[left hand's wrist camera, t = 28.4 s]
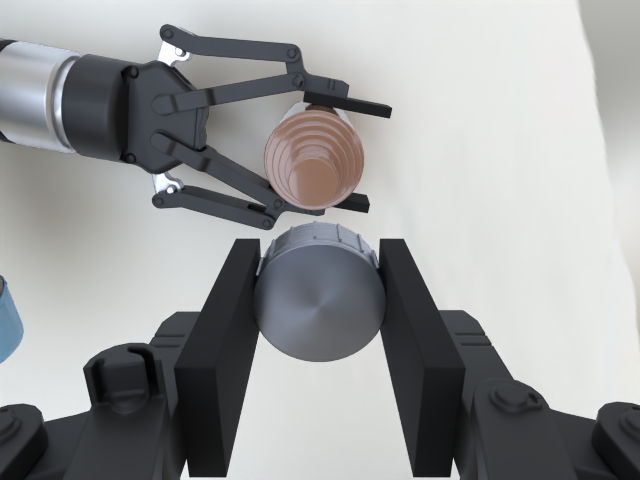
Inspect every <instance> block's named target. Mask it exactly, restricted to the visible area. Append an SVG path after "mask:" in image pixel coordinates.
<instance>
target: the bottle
mask: <svg viewBox="0 0 640 480" xmlns="http://www.w3.org/2000/svg"><path fill="white" fill-rule="evenodd" d="M264 166H265V171H266V175H267V178H268V180H269V182H270V184H271V186H272V187H273V189H274V190H275V191H276V192H277V194H278V195H279V196H280V197H282V198H283V199H284V200H285V201H287V202H288V203H290V204H292V205H294V206H297V207H299V208H303V209H308V210H320V209H326V208H329V207H332V206H334V205H337V204H338V203H340V202H342V201H343V200H344V199H346V198H347V197H348V196H349V195H350V194H351V193H352V192H353V191H354V189H355V188H356V186H357V185H358V183H359V181H360V178H361V176H362V172H363V167H364V153H363V148H362V144H361V142H360V140H359V137H358V136H357V134H356V132H355V130H354V128H353V126H352V124H351V122H350V121H349V119H348V117H347V115H346V114H345V112H344V111H343V110H342V109H337V108H332V107H326V106H321V105H316V104H310V103H305V102H303V100H302V101H299V102H298V103H296V104H294V105H293V106H292V107H291V108H290V109H289V110H288V111H287V112H286V114H285V115H284V117H283V118H282V120H281V121H280V122H279V124H278V125H277V127H276V128H275V129H274V131H273V132H272V134H271V135H270V137H269V139H268V142H267V145H266V148H265V153H264Z"/></svg>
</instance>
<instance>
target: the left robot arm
mask: <svg viewBox="0 0 640 480" xmlns="http://www.w3.org/2000/svg"><path fill="white" fill-rule="evenodd" d="M260 259H261V253H260V239H236V240H235V242H234V244H233V246H232V248H231V250H230V253H229V255H228V257H227V259H226V261H225V263H224V265H223V267H222V269H221V271H220V273H219V275H218V277H217V279H216V281H215V283H214V286H213V288H212V290H211V292H210V294H209V296H208V298H207V300H206V302H205V304H204V306H203V308H202V310H201V312H176V313H174V314H173V315H172V316H170V317H169V318H167V319H166V320H165V321H163V322H162V324H161V325H160V327H159V329H158V330H157V332H156V333H155V337H153V338H152V340H151V342H150V343H149V344H145V343H127V344H122V345H117V346H114V347H111V348H109V349H106V350H104V351H102V352H100V353H99V354H97V355H96V356H94V357H93V358H91V359H90V360H89V361H88V363H87V364H86V365H85V366H84V368H83V371H84V375H85V379H86V384H87V388H88V392H89V396H90V401H91V405H92V406H91V409H90V411H87V412H84V413H80V414H77V415H73V416H68V417H64V418H60V419H55V420H51V421H46V422H44V419H43V416H42V412H41V411H40V410H39V409H38V408H37V407H35V406H33V405H28V404H14V405H7V406H4V407H0V480H180V477H181V474H182V471H183V468H184V465H185V462H186V459H187V464H188V471H189V477H226V476H227V472H228V467H229V463H230V459H231V454H232V450H233V445H234V441H235V437H236V432H237V428H238V423H239V419H240V415H241V410H242V406H243V401H244V397H245V393H246V388H247V384H248V379H249V375H250V371H251V366H252V362H253V357H254V353H255V349H256V344H257V340H258V335H259V331H260V330H259V328H258V326H257V324H256V322H255V318H254V305H253V289H254V286H255V282H256V279H257V277H255V275H256V272H257V269H258V266H259V262H260ZM379 267H380V272H381V276H382V279H383V283H384V286H385V290H386V295H387V299H386V314H385V319H384V321H383V324H382V326H381V328H380V332H381V337H382V341H383V345H384V350H385V354H386V359H387V363H388V367H389V372H390V376H391V381H392V385H393V389H394V394H395V398H396V403H397V407H398V411H399V416H400V420H401V425H402V429H403V433H404V438H405V442H406V447H407V451H408V455H409V460H410V464H411V469H412V473H413V477H450V476H451V469H452V462H453V458H454V461H455V464H456V467H457V470H458V472H459V475H460V480H640V405H636V404H633V403H625V402H613V403H608V404H605V405H604V406H603V407H602V408H600V409H599V411H598V415H597V418H596V420H593V419H589V418H584V417H580V416H575V415H571V414H566V413H562V412H559V411H556V410H552V409H550V408H549V405H548V404H547V402H546V401H545V399H544V398H543V396H542V395H541V394H539V393H538V392H537V391H536V390H534V389H533V388H532V387H530V386H528V385H526V384H524V383H522V382H519V381H517V380H514V379H513V377H512V376H511V374H510V372H509V371H508V369H507V368H506V366H505V364H504V363H503V361H502V359H501V358H500V356H499V355H498V353H497V351H496V350H495V348H494V347H493V346H492V345H491V342H490V340H489V339H488V337H487V336H485V332H484V330H483V329H482V327H481V326H480V324H479V322H478V321H477V320H476V319H474V318H473V317H472V316H470V315H469V314H468V313H466V312H465V311H463V310H438V309H437V307H436V305H435V303H434V301H433V299H432V296H431V294H430V292H429V290H428V288H427V286H426V284H425V282H424V280H423V278H422V276H421V274H420V272H419V270H418V268H417V266H416V263H415V261H414V259H413V257H412V255H411V253H410V251H409V249H408V247H407V245H406V243H405V241H404V239H380V248H379Z"/></svg>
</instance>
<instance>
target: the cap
mask: <svg viewBox="0 0 640 480" xmlns="http://www.w3.org/2000/svg"><path fill="white" fill-rule="evenodd" d="M255 277H257V279H256V282H255V286H254V289H253V305H254V318H255V322H256V324H257V326H258V328H259V330H260V331H261V333H262V334H263V336H264V337H265V338H266V339H267V340H268V342H269V343H271V344H272V345H273V346H274V347H275V348H277V349H278V350H280V351H281V352H283V353H285V354H287V355H289V356H291V357H294V358H297V359H300V360H304V361H311V362H328V361H334V360H339V359H342V358H345V357H348V356H350V355H352V354H354V353H356V352H358V351H359V350H361V349H362V348H363V347H365V346H366V345H367V344H368V343H369V342H370V341H371V340H372V339H373V338H374V337H375V336H376V334H377V333H378V331H379V329H380V328H381V326H382V324H383V321H384V319H385V314H386V299H387V295H386V290H385V286H384V283H383V279H382V276H381V272H380V267H379V264H378V260H377V257H376V253H375V251H374V250H373V251H372V250H371V248H370V247H369V245H368V244H367V243H366V242H365V241H364V240H363V239H362V238H361V235H360V234H358V235H357V234H356V233H354V232H352V231H351V230H349V229H346V228H344V227H342V226H340V224H337V225H335V224H329V223H316V221H314V223H309V224H304V225H300V226H297V227H295V228H294V227H291V228H290V230H288V231H286V232H285V233H284V234H282V235H281V236H279V237H278V238H277V239H276V240H274V239H273V240H272V243H271V245H270V247H269V248H268V250H267V251H266V253H265V255H264V257H261V259H260V262H259V266H258V269H257V272H256V275H255Z"/></svg>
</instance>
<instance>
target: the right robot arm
mask: <svg viewBox="0 0 640 480" xmlns="http://www.w3.org/2000/svg"><path fill="white" fill-rule="evenodd" d="M160 37H161V38H162V40H163V42H162V46H161V49H160V52H159V56H158V59H157V61H151V62H149V63H146V64H139V63H133V62H128V61H123V60H118V59H112V58H107V57H102V56H96V55H91V54H87V55H84V56H82V55H81V54H79V53H78V52H75V51H70V50H65V49H60V48H54V47H49V46H44V45H39V44H34V43H28V42H23V41H15V40H6V39H1V38H0V141H4V142H10V143H15V144H21V145H26V146H31V147H37V148H42V149H47V150H53V151H58V152H63V153H69V154H70V153H75V152H77V153H79V154H80V155H82V156H87V157H93V158H98V159H104V160H110V161H115V162H121V163H127V164H133V165H137V166H139V167H141V168H142V169H144V170H145V171H147V172H148V173H150V174H152V177H153V182H154V186H155V191H156V194H155V195H154V196H153V198H152V203H153V205H154V206H155V207H157V208H177V207H183V208H186V209H190V210H194V211H197V212H201V213H205V214H208V215H212V216H216V217H219V218H223V219H227V220H230V221H234V222H238V223H241V224H245V225H249V226H252V227H256V228H260V229H263V230H271V229H272V228H273V226H274V224H275V222H276V221H277V219H278V217H279V215H280V214H281V213H282V212H284V211H292V212H298V213H303V214H309V215H315V216H320V215H324V212H325V209H320V210H308V209H303V208H299V207H297V206H294V205H292V204H290V203H288V202H287V201H285V200H284V199H283V198H282V197H280V196H279V195H278V194H277V192H276V191H275V190H274V189H273V187H272V186H271V184H270V182H269V181H268V180H266V179H264V178H262V177H260V176H259V175H257V174H255V173H253V172H251V171H250V170H248V169H246V168H244V167H242V166H241V165H239V164H237V163H235V162H233V161H232V160H230V159H228V158H226V157H224V156H223V155H221V154H219V153H218V152H217V151H216V150H215V149H213V148H211V147H210V146H208V145H206V137H207V136H206V130H205V124H206V121H207V118H208V114H209V106H213V105H217V104H223V103H229V102H234V101H240V100H246V99H251V98H257V97H263V96H268V95H274V94H280V93H285V92H291V91H297V90H298V91H299V90H300V91H305V93H304V99H303V102H305V103H310V104H316V105H321V106H326V107H332V108H337V109H342V110H347V111H353V112H358V113H363V114H369V115H374V116H379V117H384V118H390V116H391V111H392V108H391V107H389V106H388V105H384V104H379V103H374V102H368V101H363V100H358V99H353V98H347V94H348V89H349V85H348V84H346V83H345V82H343V81H341V80H336V79H331V78H326V77H321V76H315V75H311V74H309V73H307V72H306V70H305V69H304V65H303V60H302V54H301V50H300V48H299V47H297V46H296V45H294V44H286V43H274V42H261V41H249V40H237V39H225V38H212V37H200V36H197V35H195V34H193V33H191V32H189V31H187V30H185V29H182V28H180V27H176V26H173V25H169V24H166V25H163V26H162V27H161V29H160ZM193 54H197V55H205V56H217V57H230V58H242V59H255V60H267V61H279V62H285V63H286V68H287V74H285V75H279V76H273V77H268V78H262V79H257V80H251V81H245V82H240V83H234V84H229V85H223V86H217V87H212V88H206V89H201V90H197V89H196V88H195V87H194V86H193V85H192V84H191V83H190V82H189V81H188V80H187V79H186V78H185V77H184V76H183V75H182V74H181V73H180V72H179V71H178V70H177V69H176V68H175V67H174V65H175V63H176V62H177V61H189V60H190V59H191V58H192V57H193ZM183 163H185V164H187V165H188V166H190V167H192V168H194V169H196V170H198V171H201V172H205V173H207V174H209V175H211V176H213V177H215V178H217V179H218V180H220V181H222V182H224V183H226V184H228V185H230V186H231V187H233V188H235V189H237V190H239V191H241V192H242V193H244V194H246V195H248V196H250V197H252V198H253V199H255V200H257V201H259V202H261V203H263V204H265V205H266V206H264V205H260V204H257V203H253V202H250V201H246V200H242V199H239V198H235V197H232V196H228V195H224V194H221V193H217V192H214V191H210V190H206V189H203V188H199V187H195V186H188V185H183V182H182V181H181V180H180V179H177V178H173V177H171V176H170V175H169V173H168V171H169V170H171V169H173V168H175V167H177V166H179V165H181V164H183ZM369 206H370V203H369V200H368V198H367V195H363V194H358V193H351V194H350V195H349V196H348V197H347V198H346V199H344V200H343V201H342V202H340V203H338V204H337V205H334V206H332V207H335V208H341V209H347V210H352V211H358V212H364V213H368V210H369ZM23 332H24V331H23V324H22V322H21V319H20V317H19V314H18V312H17V309H16V307H15V305H14V302H13V300H12V297H11V295H10V292H9V290H8V286H7V282H6V281H5V279H4V277H3V276H1V275H0V364H1V363H2V362H3V361H4V360H6V359H7V358H8V357H9V356H10V355H11V354H12V353H13V352H14V351H15V349H16V348H17V347H18V346H19V344H20V342H21V340H22V337H23Z"/></svg>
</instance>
